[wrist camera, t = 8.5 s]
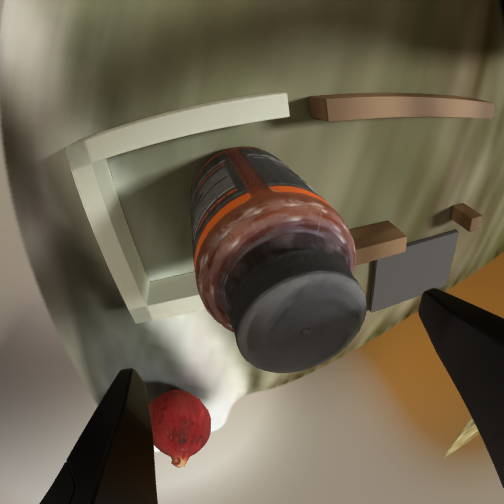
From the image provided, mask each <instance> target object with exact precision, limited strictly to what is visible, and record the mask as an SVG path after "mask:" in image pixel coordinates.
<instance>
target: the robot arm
mask: <svg viewBox="0 0 504 504" xmlns="http://www.w3.org/2000/svg"><path fill="white" fill-rule="evenodd" d="M502 4H503V9H504V0H502ZM418 312H419V317H420V319H421V321H422V323H423V325H424V327H425V329H426V331H427V333H428V335H429V337H430V340H431V342H432V344H433V346H434V348H435V350H436V352H437V354H438V356H439V358H440V359H441V361H442V363H443V365H444V366H445V368H446V370H447V372H448V373H449V375H450V377H451V379H452V380H453V382H454V384H455V386H456V388H457V389H458V391H459V393H460V395H461V397H462V399H463V400H464V403H465V405H466V406H467V408H468V410H469V412H470V414H471V416H472V418H473V420H474V422H475V424H476V426H477V428H478V430H479V433H480V435H481V437H482V439H483V441H484V443H485V445H486V448H487V450H488V452H489V455H490V457H491V459H492V461H493V464H494V466H495V469H496V471H497V474H498V476H499V478H500V481H501V484H502V486H503V488H504V318H501V317H499V316H497V315H494V314H492V313H490V312H488V311H486V310H484V309H482V308H479V307H477V306H475V305H473V304H470V303H468V302H466V301H464V300H462V299H459V298H457V297H455V296H453V295H450V294H448V293H446V292H443V291H441V290H439V289H436V288H431V289H428V290H426V291H424V292H423V294H422V297H421V302H420V305H419V310H418ZM156 491H157V490H156V478H155V462H154V441H153V430H152V423H151V416H150V409H149V401H148V393H147V388H146V385H145V383H144V382H143V380H142V379H141V377H140V376H139V374H138V373H137V371H136V370H135V369H133V368H129V369H123V370H121V371H120V372H119V373H118V375H117V376H116V378H115V379H114V381H113V383H112V384H111V386H110V387H109V389H108V391H107V392H106V394H105V396H104V397H103V399H102V400H101V402H100V404H99V405H98V407H97V409H96V410H95V412H94V414H93V415H92V417H91V419H90V421H89V422H88V424H87V425H86V427H85V429H84V430H83V432H82V434H81V436H80V437H79V439H78V441H77V443H76V444H75V446H74V448H73V450H72V451H71V453H70V455H69V457H68V458H67V462H65V463H64V465H63V467H62V469H61V471H60V473H59V474H58V476H57V477H56V479H55V481H54V483H53V484H52V486H51V487H50V489H49V490H48V492H47V493H46V495H45V496H44V498H43V499H42V501H41V502H40V504H158V502H157V492H156Z"/></svg>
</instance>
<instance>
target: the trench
mask: <svg viewBox="0 0 504 504" xmlns="http://www.w3.org/2000/svg"><path fill="white" fill-rule="evenodd" d="M309 104H310V112H311V117H314V118H318V119H321V120H324V121H327V122H333V121H343V120H355V119H369V118H387V117H427V116H434V117H472V118H489V119H493V103H490V102H486V101H482V100H478V99H474V98H469V97H460V96H449V95H435V94H415V93H358V94H337V95H322V96H310V97H309ZM482 217H483V215H481V214H479V213H478V212H476V211H475V210H473V209H472V208H470V207H469V206H467V205H465V204H464V203H463V204H458V205H454V206H453V207H452V214H451V219H452V220H454V221H455V222H456V223H458V224H459V225H461V226H462V227H463V228H465V229H466V230H467V231H469V232H471V231H474V230H477V229H480V227H481V222H482ZM350 233H351V235H352V238H353V241H354V245H355V255H356V261H355V266H356V265H360V264H363V263H367V262H371V261H374V260H378V259H381V258H385V257H388V256H392V255H395V254H399V253H402V252H405V250H406V242H407V236H406V235H405V234H404V233H402V232H401V231H400V230H399V229H398V228H396V227H395V226H394V225H393V224H392V223H390V222H389V221H384V222H380V223H376V224H371V225H367V226H363V227H358V228H354V229H350Z"/></svg>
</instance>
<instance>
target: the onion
mask: <svg viewBox="0 0 504 504" xmlns="http://www.w3.org/2000/svg"><path fill="white" fill-rule="evenodd" d="M149 409H150V416H151V423H152V430H153V441H154V445H155V446H156V448H158V449H159V450H160V451H161V452H163V453H164V454H166V455H169V456H170V457H171V458H172V464H173V465H174V466H176V467H178V468H180V467H183V466H185V464H186V462H187V461H188V459H189V457H190V456H192V455H194V454H195V453H197V452H198V451H199V450H200V449H201V448H202V447H203V446H204V445H205V444H206V442H207V440H208V439H209V435H210V431H211V418H210V415H209V412H208V410H207V409H206V407H205V406H204V405H203V403H202V402H201V401H200V399H198V398H197V397H195V396H194V395H192V394H190V393H188V392H186V391H182V390H178V389H174V390H171V391H168V392H166V393H163V394H161V395H160V396H158V397H157V398H156V399H154V400H153V401H152V402H151V404H150V405H149Z"/></svg>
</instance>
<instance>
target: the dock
mask: <svg viewBox="0 0 504 504" xmlns="http://www.w3.org/2000/svg"><path fill="white" fill-rule="evenodd" d="M284 117H290V114H289V106H288V99H287V93H281V92H269V93H262V94H255V95H248V96H242V97H236V98H230V99H225V100H219V101H214V102H209V103H204V104H200V105H195V106H190V107H186V108H182V109H178V110H174V111H170V112H166V113H162V114H158V115H154V116H151V117H147V118H144V119H140V120H137V121H133V122H130V123H127V124H124V125H120V126H117V127H114V128H111V129H108V130H105V131H102V132H99V133H97V134H94V135H91V136H88V137H86V138H83V139H80V140H78V141H77V142H75V143H73V144H71V145H69V146H68V147H66V148H64V149H65V152H66V155H67V159H68V162H69V165H70V168H71V172H72V175H73V178H74V181H75V184H76V187H77V190H78V193H79V195H80V198H81V201H82V204H83V206H84V209H85V212H86V215H87V217H88V220H89V222H90V225H91V227H92V230H93V232H94V235H95V237H96V240H97V242H98V245H99V247H100V249H101V252H102V254H103V256H104V259H105V261H106V263H107V265H108V268H109V270H110V272H111V274H112V276H113V279H114V281H115V283H116V285H117V287H118V289H119V291H120V293H121V295H122V297H123V300H124V302H125V304H126V306H127V308H128V309H129V311H130V313H131V315H132V317H133V319H134V321H135V323H142V322H147V321H152V320H157V319H162V318H166V317H171V316H176V315H181V314H186V313H190V312H195V311H200V310H204V309H206V308H205V306H204V304H203V302H202V300H201V298H200V295H199V292H198V288H197V284H196V278H195V272H192V273H187V274H183V275H179V276H174V277H170V278H165V279H161V280H157V281H152V282H149V279H148V277H147V274H146V272H145V269H144V267H143V264H142V262H141V259H140V257H139V254H138V252H137V249H136V246H135V244H134V241H133V238H132V235H131V233H130V230H129V227H128V224H127V222H126V219H125V216H124V213H123V210H122V207H121V204H120V201H119V198H118V195H117V192H116V189H115V186H114V182H113V179H112V176H111V173H110V169H109V166H108V163H107V159H106V158H109V157H112V156H115V155H118V154H121V153H124V152H128V151H131V150H134V149H138V148H141V147H145V146H148V145H152V144H156V143H159V142H163V141H167V140H171V139H175V138H179V137H183V136H187V135H192V134H196V133H200V132H205V131H210V130H214V129H219V128H224V127H229V126H235V125H240V124H246V123H251V122H257V121H264V120H270V119H277V118H284Z"/></svg>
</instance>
